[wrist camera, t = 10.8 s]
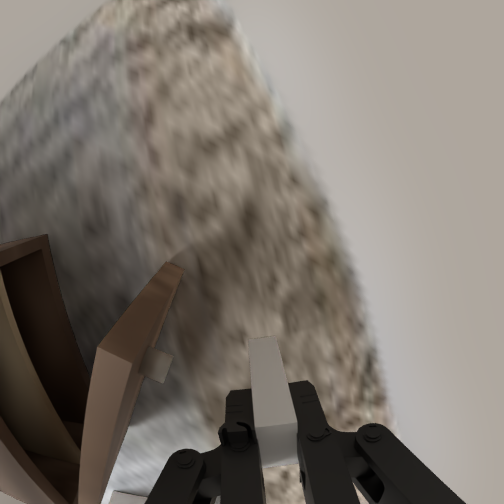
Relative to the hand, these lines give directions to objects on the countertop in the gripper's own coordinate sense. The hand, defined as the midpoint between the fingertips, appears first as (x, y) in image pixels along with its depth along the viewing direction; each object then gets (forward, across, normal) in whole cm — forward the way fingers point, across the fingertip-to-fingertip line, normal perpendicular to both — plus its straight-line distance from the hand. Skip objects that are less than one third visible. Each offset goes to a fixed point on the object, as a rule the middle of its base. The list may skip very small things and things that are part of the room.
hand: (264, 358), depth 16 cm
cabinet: (+4, -21, 0) cm, 22 cm away
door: (+3, -8, -3) cm, 9 cm away
